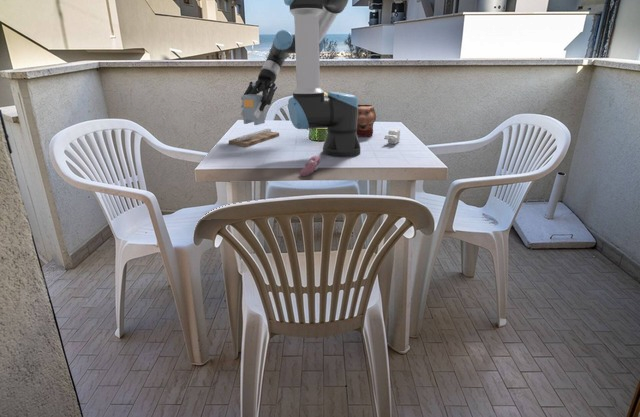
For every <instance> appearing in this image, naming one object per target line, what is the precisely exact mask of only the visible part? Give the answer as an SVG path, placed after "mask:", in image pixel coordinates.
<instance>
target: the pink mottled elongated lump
mask: <svg viewBox="0 0 640 417" xmlns="http://www.w3.org/2000/svg"><path fill="white" fill-rule="evenodd" d="M321 159H322V158H321V157H320V156H317V155H314V156H311V157H310V158H309V161H308V162H306V163H305V166H304V167H303V168H301V169H300V171H299V176H301V177H307V176H308V175H311V176H312V175H313V173H314V172H315V171H316V170H318V169H319V168H318V165H319V164H320V162H321Z"/></svg>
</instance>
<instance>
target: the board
mask: <svg viewBox="0 0 640 417" xmlns="http://www.w3.org/2000/svg"><path fill="white" fill-rule="evenodd" d="M279 136H280V132H276V131H271V133H268V134H265V135H261V136H258V137H255V138H252V139H249V140H246V141H243V142H239V141H237V138H238V137H236V138H233V139H229V140H228V145H233V146H239V147H245V148H248V147H251V146H254V145H257V144H259V143H262V142H266V141H268V140H271V139H274V138H278V137H279Z"/></svg>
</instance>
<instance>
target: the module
mask: <svg viewBox="0 0 640 417" xmlns="http://www.w3.org/2000/svg"><path fill="white" fill-rule="evenodd" d="M262 97H263V95H262V94H257V95H255V94H249V95H244V94H243V95H242V96H241V98H242V99H241V102H242V105H243V117H242V119H243V124H244V125H245V124H246V125H247V124H252V123H253V125H254V126H259V125H262V124H263V125H264V124H265V122H266V121H265V119H266V118H265V109H264V110H263V111H261V113H260V116H259V118H256V117H255V115H254V113H255V111H256V109H257V107H258V105H259V103H260V102H261V100H262ZM261 103H262V102H261ZM242 105H241V106H242Z"/></svg>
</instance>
